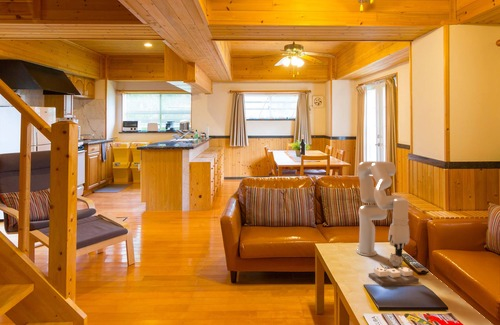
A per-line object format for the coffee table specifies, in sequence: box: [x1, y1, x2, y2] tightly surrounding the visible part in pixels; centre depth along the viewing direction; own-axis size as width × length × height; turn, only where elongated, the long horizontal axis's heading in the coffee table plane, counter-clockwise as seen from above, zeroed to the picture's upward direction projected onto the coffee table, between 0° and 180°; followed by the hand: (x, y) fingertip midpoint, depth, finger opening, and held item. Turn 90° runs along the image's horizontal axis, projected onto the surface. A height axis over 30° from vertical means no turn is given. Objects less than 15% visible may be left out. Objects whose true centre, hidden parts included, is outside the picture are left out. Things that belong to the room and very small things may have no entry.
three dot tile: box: [373, 267, 388, 277], centre depth 178 cm, size 5×5×3 cm
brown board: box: [368, 272, 420, 288], centre depth 180 cm, size 12×22×2 cm, turn 104°
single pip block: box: [385, 267, 401, 278], centre depth 180 cm, size 5×5×3 cm
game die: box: [388, 253, 405, 269], centre depth 198 cm, size 9×8×10 cm
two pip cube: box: [397, 266, 414, 276], centre depth 182 cm, size 5×5×3 cm
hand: (398, 255), depth 180 cm, fingers closed
